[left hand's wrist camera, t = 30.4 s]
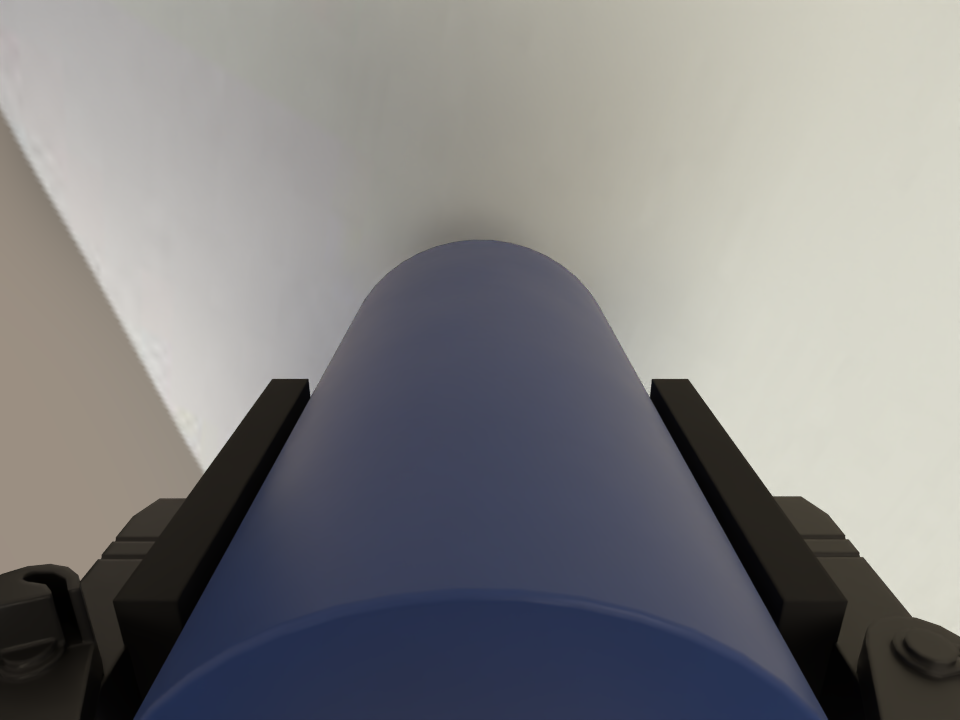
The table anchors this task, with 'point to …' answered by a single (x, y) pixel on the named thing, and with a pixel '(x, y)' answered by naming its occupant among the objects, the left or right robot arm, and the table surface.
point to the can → (480, 532)
